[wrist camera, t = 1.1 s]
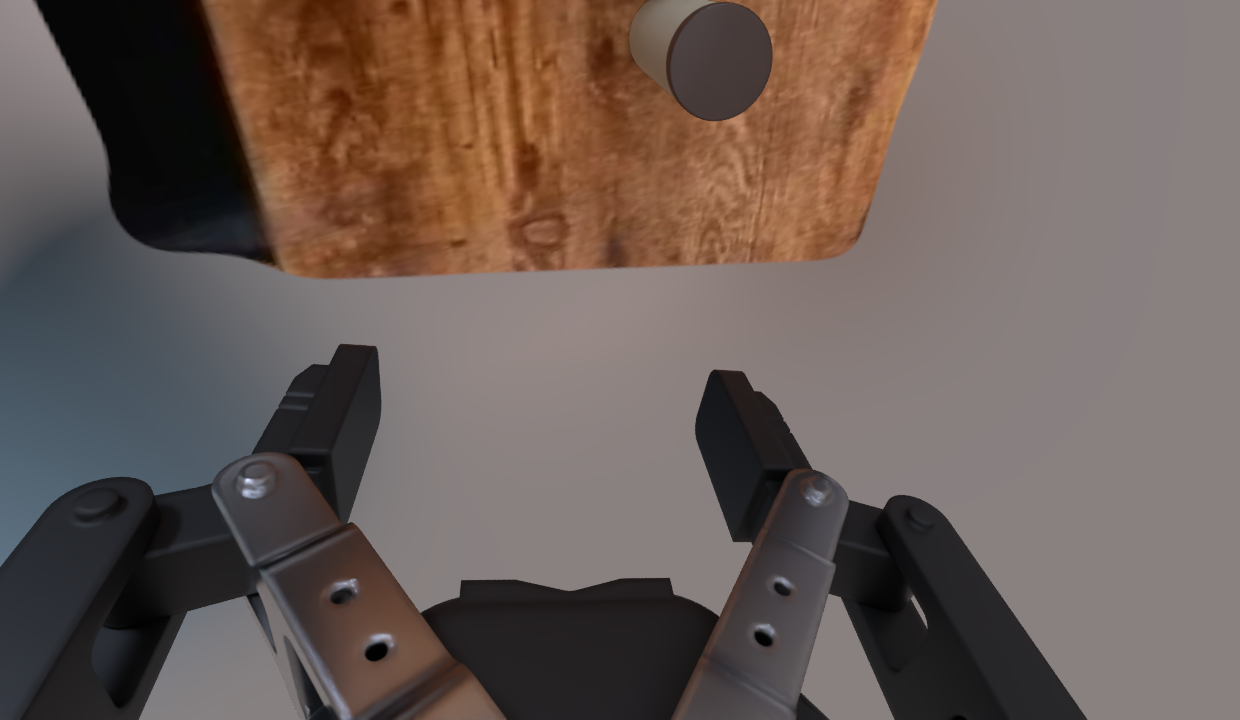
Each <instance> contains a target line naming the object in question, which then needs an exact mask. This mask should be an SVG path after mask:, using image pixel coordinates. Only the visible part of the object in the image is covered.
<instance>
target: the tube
mask: <svg viewBox="0 0 1240 720" xmlns="http://www.w3.org/2000/svg"><path fill="white" fill-rule="evenodd" d="M629 44H630V50H631V54H632V56H633V59H634V61H635V62H636V64H637V65H638V67H639V68H640V69H641V70H642V71H643V72H644V73H646V74H647V75H648V76H649V77H650V78H651V79H652V80H654V81H655V82H656V83H657V84H658V85H659V86H661V87H662V88H663V89H664V90H665V91H666V92H667V93H669V94H670V95H671V96H672V97H673V98H674V99H675V100H677V102H678V103H679V104H680V105H681V106H682V107H683V108H684V109H685V110H686V111H688V112H689V113H690V114H692V115H694V116H695V117H697V118H700V119H703V120H707V121H722V120H727V119H730V118H733V117H735V116H737V115H739V114H741V113H742V112H744V111H745V110H746V109H748V108H749V107H750V106H751V105H752V104H753V103H754V102H755V101H756V100H757V98H758V97H759V96H760V94H761V93H762V91H763V89H764V88H765V85H766V83H767V81H768V78H769V75H770V71H771V67H772V44H771V39H770V36H769V33H768V31H767V28H766V27H765V25H764V23H763V22H762V20H761V19H760V18H759V17H758V16H757V15H756V14H755V13H754V12H753V11H751V10H750V9H748V8H746V7H744V6H742V5H739V4H735V3H729V2H714V1H708V0H648V1H647V2H646V3H645V4H644V5H643V6H641V8H640V9H639V10H638V12H637V13H636V15H635V17H634V19H633V21H632V24H631V28H630V34H629Z"/></svg>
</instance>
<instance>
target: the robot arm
mask: <svg viewBox="0 0 1240 720" xmlns="http://www.w3.org/2000/svg"><path fill="white" fill-rule="evenodd" d="M380 415H381V389H380V375H379V360H378V351H377V348H376V347H375V346H366V345H351V344H350V345H349V344H340V345H339V346H338V348H337V350H336V352H335V354H334V356H333V358H332V360H331V362H330V364H329V365H317V364H313V365H311V366H310V367H308V368H307V369H306V370H304V371H303V372H301V373H300V374H299V375H297V376H296V377H295V378H294V380H293V381H292V383H291V385H290V387H289V388H288V390H287V392H286V396H284V397H283V399H282V401H281V403H280V404H279V408H278V409H277V410H276V411H275V413H274V415H273V417H272V418H271V420H270V422H269V424H268V426H267V427H266V429H265V431H264V433H263V435H262V436H261V438H260V440H259V441H258V443H257V445H256V447H255V448H254V450H253V452H252V454H251V455H249V456H245V457H243V458H240V459H238V460H236V461H234V462H232V463H230V464H229V465H227V466H226V467H224V468H223V469H222V470H221V471H220V472H219V473H218V474H217V475H216V477H215V478H214V480H213V483H211V484H208V485H205V486H201V487H197V488H192V489H187V490H181V491H176V492H171V493H166V494H160V495H156V496H154V494H153V491H152V489H151V487H150V486H149V485H148V484H147V483H145V482H144V481H142V480H139V479H136V478H130V477H113V478H106V479H101V480H97V481H93V482H90V483H87V484H84V485H82V486H79V487H77V488H75V489H73V490H71V491H69V492H67V493H65V494H64V495H62V496H61V497H59V498H58V499H57V500H55V501H54V502H53V503H52V504H51V505H50V506H49V507H48V508H47V509H46V510H45V511H44V513H43V514H42V515H41V516H40V518H39V519H38V520H37V522H36V523H35V524H34V525H33V527H32V528H31V529H30V531H29V532H28V533H27V534H26V535H25V537H24V538H23V539H22V540H21V542H20V543H19V544H18V545H17V547H16V548H15V549H14V551H13V552H12V553H11V554H10V556H9V557H8V558H7V559H6V561H5V562H4V563H3V565H2V566H1V567H0V720H139V717H140V715H141V713H142V711H143V708H144V706H145V704H146V702H147V700H148V697H149V695H150V693H151V691H152V689H153V686H154V684H155V682H156V680H157V678H158V675H159V673H160V671H161V669H162V666H163V664H164V662H165V660H166V658H167V655H168V653H169V651H170V649H171V647H172V644H173V642H174V640H175V638H176V635H177V633H178V631H179V629H180V627H181V624H182V622H183V620H184V618H185V616H186V613H187V611H190V610H194V609H198V608H202V607H205V606H208V605H213V604H216V603H220V602H224V601H227V600H231V599H235V598H238V597H242V596H243V598H244V600H245V602H246V604H247V606H248V608H249V610H250V611H251V614H252V616H253V618H254V620H255V621H256V624H257V625H258V627H259V630H260V631H261V633H262V635H263V637H264V639H265V641H266V643H267V645H268V647H269V649H270V651H271V653H272V655H273V657H274V659H275V661H276V663H277V665H278V668H279V670H280V672H281V674H282V677H283V679H284V682H285V685H286V687H287V690H288V692H289V695H290V697H291V700H292V702H293V704H294V707H295V709H296V710H297V713H298V715H299V717H300V719H301V720H829V719H828V718H827V717H826V716H825V715H824V714H823V713H822V712H821V711H820V710H819V709H818V708H817V707H816V706H814V705H813V704H812V703H811V702H810V701H809V700H808V699H807V698H806V697H805V696H804V695H803V694H802V693H800V691H801V688H802V684H803V681H804V677H805V674H806V670H807V667H808V663H809V660H810V656H811V653H812V649H813V646H814V642H815V639H816V635H817V632H818V628H819V625H820V622H821V618H822V614H823V611H824V608H825V604H826V601H827V597H828V594H832V595H835V596H839V597H841V599H842V601H843V603H844V605H845V608H846V610H847V612H848V615H849V617H850V619H851V621H852V624H853V626H854V628H855V631H856V633H857V635H858V637H859V640H860V642H861V644H862V646H863V649H864V651H865V653H866V656H867V658H868V660H869V662H870V665H871V667H872V669H873V671H874V674H875V676H876V678H877V681H878V683H879V685H880V688H881V690H882V692H883V694H884V696H885V699H886V701H887V703H888V705H889V708H890V710H891V712H892V715H893V717H894V719H895V720H1087V719H1086V717H1085V715H1084V714H1083V713H1082V711H1081V710H1080V709H1079V707H1078V705H1077V704H1076V703H1075V701H1074V700H1073V698H1072V697H1071V695H1070V694H1069V693H1068V691H1067V690H1066V688H1065V687H1064V685H1063V684H1062V683H1061V681H1060V680H1059V678H1058V677H1057V675H1056V674H1055V672H1054V671H1053V670H1052V668H1051V667H1050V665H1049V664H1048V662H1047V661H1046V660H1045V658H1044V657H1043V655H1042V654H1041V652H1040V651H1039V650H1038V648H1037V647H1036V646H1035V644H1034V642H1033V641H1032V640H1031V638H1030V637H1029V635H1028V634H1027V632H1026V631H1025V630H1024V628H1023V627H1022V625H1021V624H1020V622H1019V621H1018V619H1017V618H1016V617H1015V615H1014V614H1013V612H1012V611H1011V609H1010V608H1009V607H1008V605H1007V604H1006V602H1005V601H1004V600H1003V598H1002V597H1001V595H1000V594H999V592H998V591H997V589H996V588H995V587H994V585H993V584H992V582H991V581H990V579H989V578H988V577H987V575H986V574H985V572H984V571H983V569H982V568H981V567H980V565H979V564H978V562H977V561H976V559H975V558H974V557H973V555H972V554H971V552H970V551H969V550H968V548H967V546H966V545H965V544H964V542H963V541H962V539H961V538H960V537H959V535H958V534H957V532H956V531H955V529H954V528H953V526H952V525H951V524H950V522H949V521H948V520H947V518H946V517H945V516H944V515H943V514H942V513H941V512H940V511H939V510H937V509H936V508H934V507H933V506H932V505H930V504H929V503H927V502H925V501H923V500H921V499H918V498H915V497H912V496H906V495H897V496H894V497H891V498H890V499H889V500H888V502H887V504H886V505H885V507H884V508H883V509H880V508H876V507H873V506H869V505H865V504H861V503H858V502H854V501H851V500H849V499H848V496H847V494H846V492H845V490H844V489H843V488H842V486H840V484H838V483H837V482H836V481H835V480H834V479H832V478H831V477H829V476H828V475H826V474H824V473H821V472H819V471H816V470H813V469H812V468H811V466H810V464H809V462H808V461H807V459H806V457H805V455H804V454H803V452H802V450H801V448H800V447H799V445H798V443H797V441H796V440H795V438H794V436H793V434H792V433H790V429H789V427H788V426H787V424H786V422H784V421H783V417H782V415H781V414H780V412H779V410H778V408H777V406H776V405H775V404H774V403H773V402H772V401H771V400H770V399H768V398H767V397H766V396H765V395H764V394H763V393H762V392H757V391H754V390H753V388H752V386H751V385H750V383H749V381H748V379H747V377H746V376H745V374H744V373H743V372H742V371H729V370H713V371H712V372H711V373H710V375H709V378H708V381H707V384H706V388H705V391H704V394H703V398H702V401H701V404H700V407H699V411H698V414H697V417H696V424H695V434H696V440H697V443H698V446H699V449H700V451H701V454H702V457H703V460H704V462H705V465H706V468H707V470H708V473H709V476H710V479H711V482H712V484H713V487H714V490H715V493H716V495H717V498H718V501H719V504H720V507H721V509H722V512H723V515H724V518H725V520H726V523H727V526H728V529H729V531H730V534H731V537H732V540H733V542H752V545H753V547H752V549H751V551H750V553H749V555H748V557H747V560H746V562H745V564H744V566H743V568H742V570H741V572H740V575H739V577H738V579H737V581H736V583H735V585H734V587H733V589H732V592H731V594H730V596H729V598H728V600H727V602H726V604H725V606H724V608H723V611H722V613H721V615H720V617H719V616H718V615H716V614H715V613H714V612H712V611H711V610H709V609H707V608H706V607H704V606H702V605H700V604H698V603H696V602H694V601H692V600H690V599H686V598H684V597H681V596H677V595H674V594H673V590H672V585H671V581H670V578H626V579H625V578H624V579H618V580H614V581H610V582H606V583H602V584H598V585H594V586H590V587H587V588H583V589H579V590H575V591H565V590H560V589H555V588H551V587H546V586H542V585H537V584H532V583H528V582H524V581H519V580H462V581H461V588H460V597H459V598H455V599H451V600H448V601H445V602H442V603H440V604H437V605H435V606H433V607H431V608H429V609H427V610H425V611H423V612H421V613H420V612H419V611H418V609H417V608H416V607H415V605H414V604H413V602H412V601H411V600H410V598H409V597H408V595H407V594H406V593H405V591H404V590H403V588H402V587H401V586H400V584H399V583H398V582H397V580H396V579H395V577H394V576H393V575H392V573H391V572H390V570H389V569H388V568H387V566H386V565H385V563H384V562H383V561H382V559H381V558H380V557H379V555H378V554H377V552H376V551H375V550H374V548H373V547H372V545H371V544H370V543H369V541H368V540H367V538H366V537H365V536H364V534H363V533H362V531H361V530H360V529H359V528H358V527H357V526H356V525H355V524H354V523H352V522H350V523H348V519H349V517H350V513H351V510H352V507H353V504H354V501H355V498H356V495H357V492H358V489H359V486H360V482H361V479H362V476H363V473H364V470H365V467H366V464H367V461H368V458H369V455H370V452H371V448H372V445H373V442H374V439H375V436H376V433H377V430H378V426H379V422H380ZM347 523H348V524H347ZM913 595H914V596H915V598H916V599H917V601H918V603H919V605H920V607H921V608H922V610H923V612H924V614H925V617H926V620H927V625H928V629H927V628H926V626H925V624H924V622H923V620H922V619H921V617H920V615H919V613H918V611H917V609H916V608H915V606H914V604H913V602H912V600H911V597H912V596H913Z"/></svg>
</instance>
